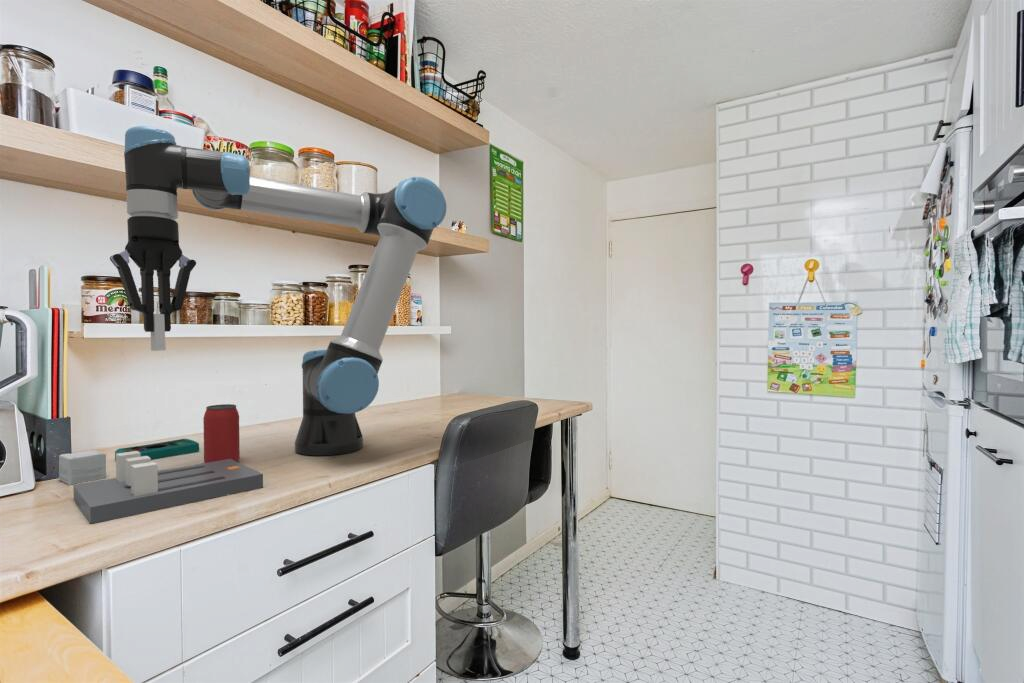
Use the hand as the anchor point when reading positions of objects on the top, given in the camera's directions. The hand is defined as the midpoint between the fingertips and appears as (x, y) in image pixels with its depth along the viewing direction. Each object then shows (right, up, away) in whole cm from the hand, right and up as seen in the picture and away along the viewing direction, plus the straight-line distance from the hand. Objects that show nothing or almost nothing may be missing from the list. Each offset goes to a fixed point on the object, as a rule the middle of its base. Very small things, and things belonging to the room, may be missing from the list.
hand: (158, 350), depth 94 cm
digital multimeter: (-15, -25, +22) cm, 36 cm away
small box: (-17, -25, +4) cm, 30 cm away
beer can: (+3, -24, +16) cm, 29 cm away
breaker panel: (+6, -24, -5) cm, 25 cm away
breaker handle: (+2, -22, -8) cm, 23 cm away
